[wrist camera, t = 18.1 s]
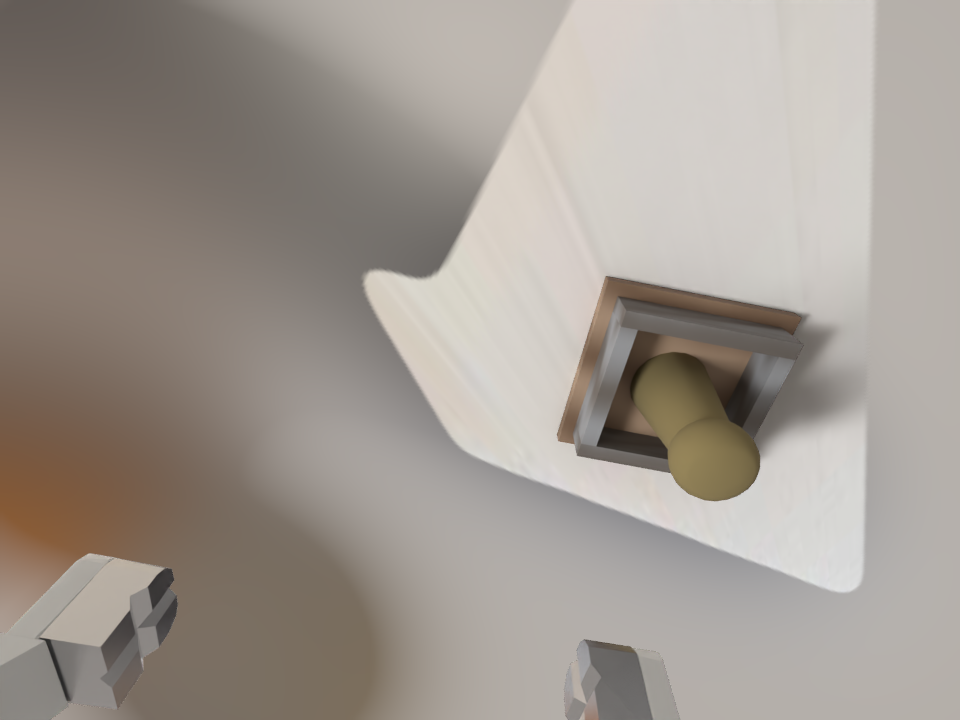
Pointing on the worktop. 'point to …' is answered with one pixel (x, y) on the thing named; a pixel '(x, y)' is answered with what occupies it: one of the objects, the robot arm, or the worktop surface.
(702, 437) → the cork
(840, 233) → the worktop surface
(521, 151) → the worktop surface
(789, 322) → the grey-rimmed square tray
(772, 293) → the worktop surface
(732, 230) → the worktop surface
